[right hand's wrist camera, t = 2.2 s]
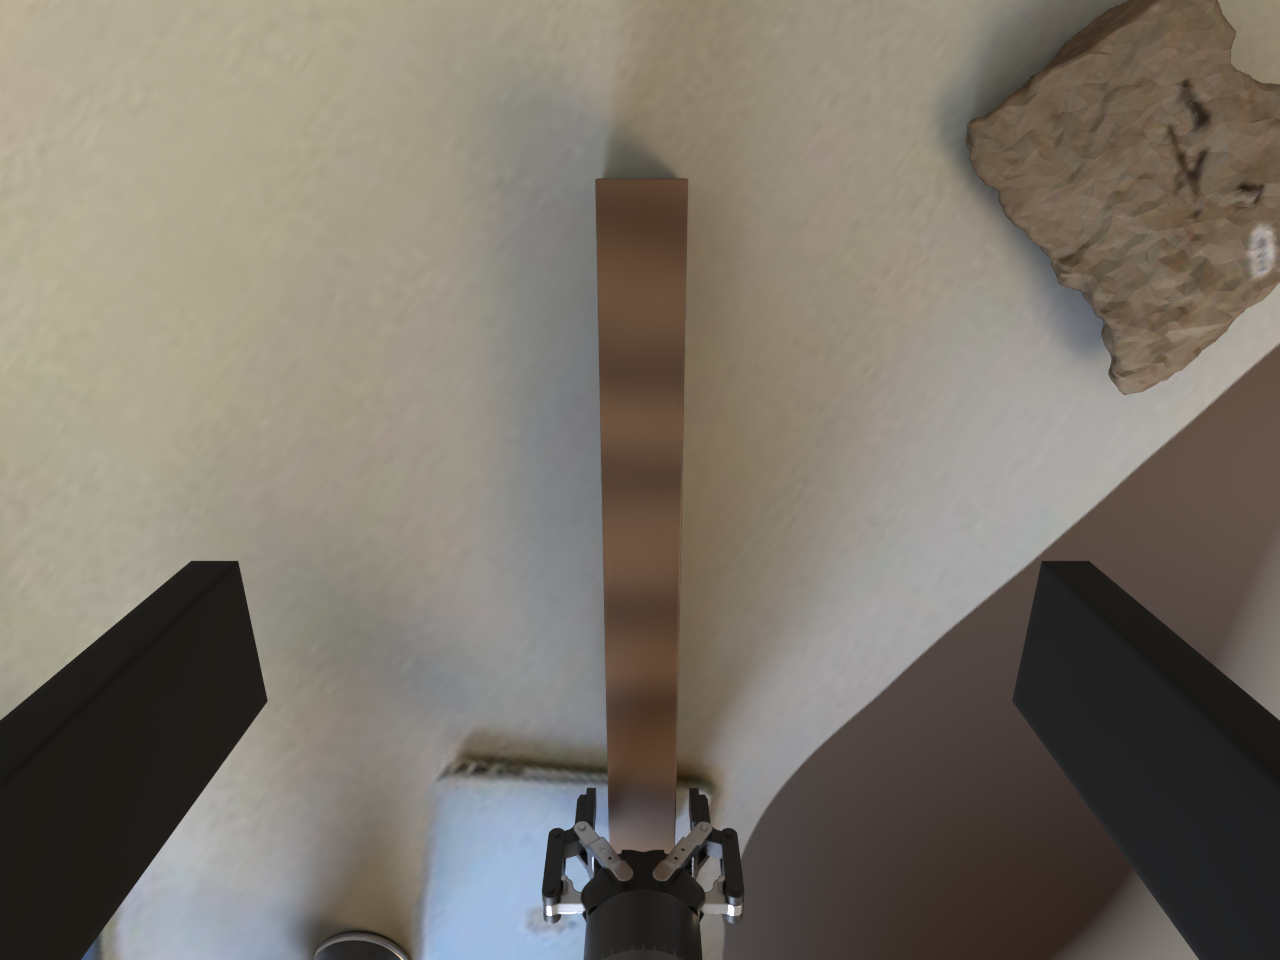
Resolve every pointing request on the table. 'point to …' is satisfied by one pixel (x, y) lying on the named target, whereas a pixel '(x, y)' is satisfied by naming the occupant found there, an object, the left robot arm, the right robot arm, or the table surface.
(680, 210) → the beam
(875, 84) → the table surface
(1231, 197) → the stone
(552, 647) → the table surface
